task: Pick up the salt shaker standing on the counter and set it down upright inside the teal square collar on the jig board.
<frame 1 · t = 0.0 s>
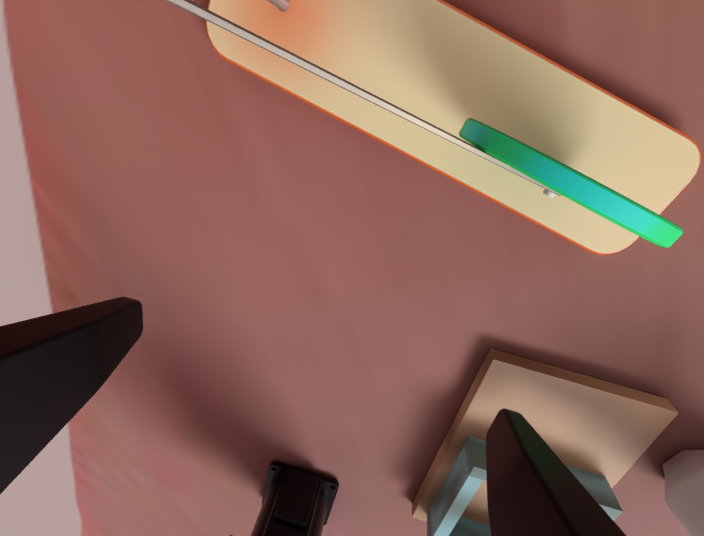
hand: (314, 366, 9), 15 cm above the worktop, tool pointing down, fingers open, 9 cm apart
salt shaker: (693, 465, 26), on the worktop
crank mechanism: (444, 96, 19), on the worktop
jig: (520, 458, 28), on the worktop
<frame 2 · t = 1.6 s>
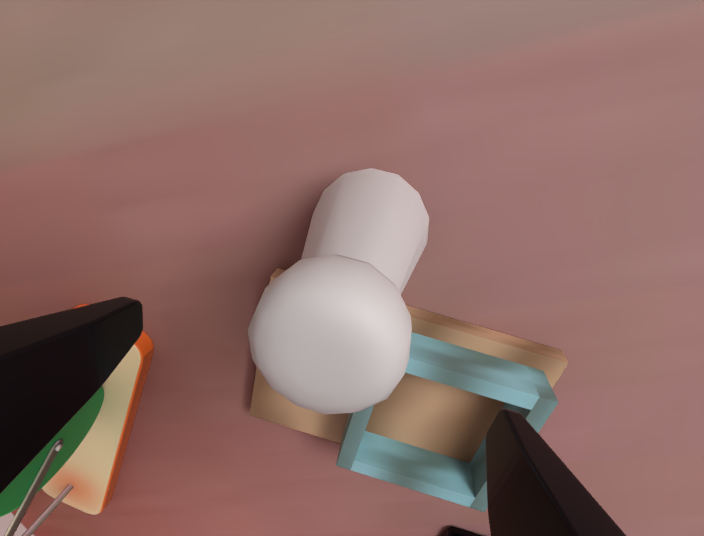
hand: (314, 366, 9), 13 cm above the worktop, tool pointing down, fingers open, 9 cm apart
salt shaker: (375, 213, 21), on the worktop
crank mechanism: (97, 417, 32), on the worktop
jig: (389, 379, 25), on the worktop
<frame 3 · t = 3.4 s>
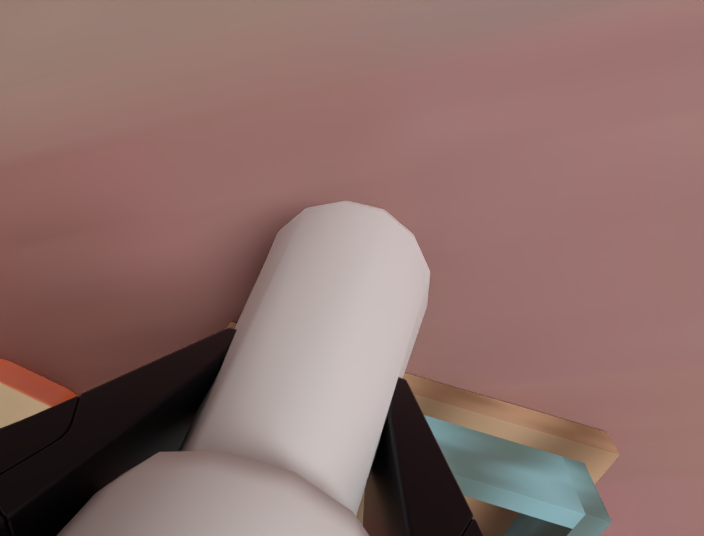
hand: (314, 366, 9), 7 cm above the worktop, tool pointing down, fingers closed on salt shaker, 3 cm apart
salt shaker: (356, 255, 15), on the worktop, touching gripper
crank mechanism: (32, 482, 27), on the worktop
jig: (380, 457, 20), on the worktop
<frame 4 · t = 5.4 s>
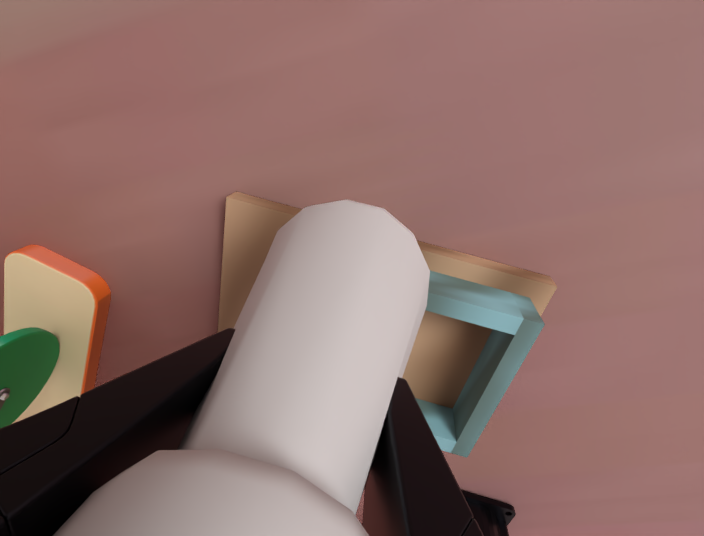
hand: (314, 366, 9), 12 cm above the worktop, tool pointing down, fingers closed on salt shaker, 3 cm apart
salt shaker: (356, 254, 15), point 5 cm above the worktop, touching gripper
crank mechanism: (58, 375, 30), on the worktop
jig: (364, 319, 23), on the worktop
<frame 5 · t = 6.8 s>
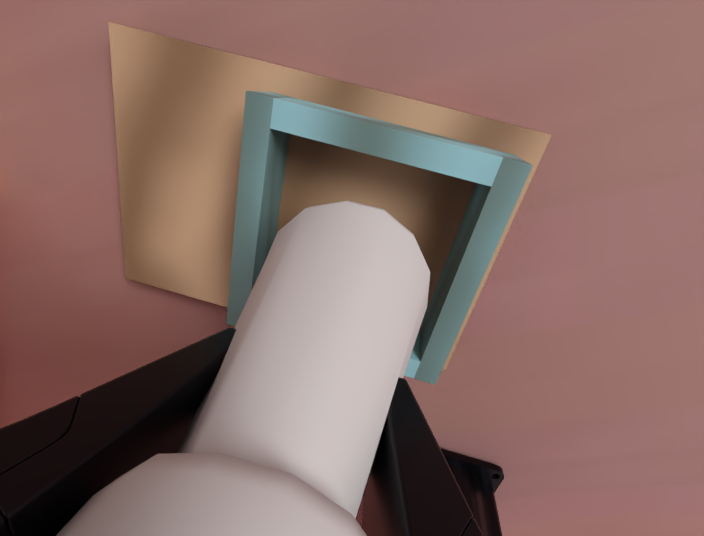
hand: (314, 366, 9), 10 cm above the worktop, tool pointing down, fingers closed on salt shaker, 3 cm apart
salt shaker: (356, 255, 15), point 3 cm above the worktop, touching gripper
jig: (306, 212, 18), on the worktop
when the fingers open (9 cm above the worktop, at t = 7.7 s): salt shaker drops 1 cm, resting on jig.
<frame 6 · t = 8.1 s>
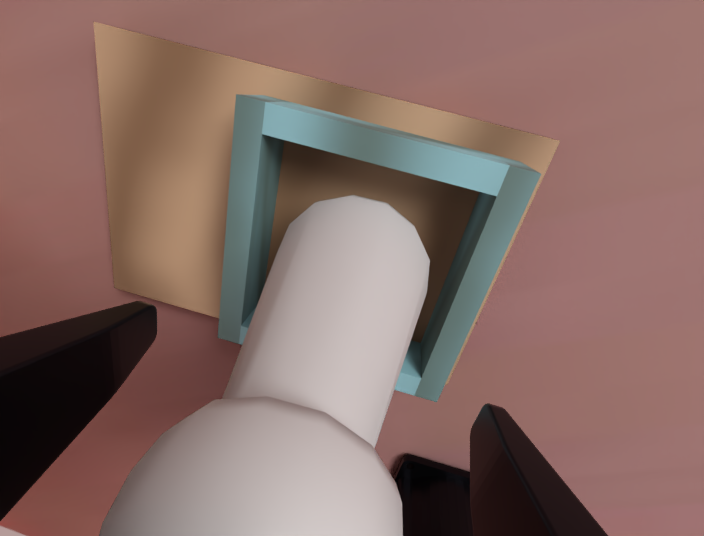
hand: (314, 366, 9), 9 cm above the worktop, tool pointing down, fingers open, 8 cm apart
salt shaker: (360, 246, 16), point 1 cm above the worktop, touching jig
jig: (302, 220, 17), on the worktop
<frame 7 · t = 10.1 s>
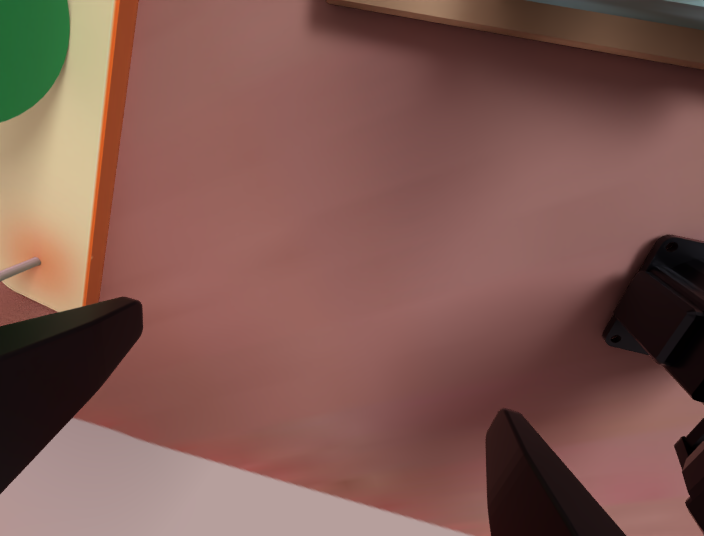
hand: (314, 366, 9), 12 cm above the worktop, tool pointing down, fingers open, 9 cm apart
crank mechanism: (69, 127, 21), on the worktop
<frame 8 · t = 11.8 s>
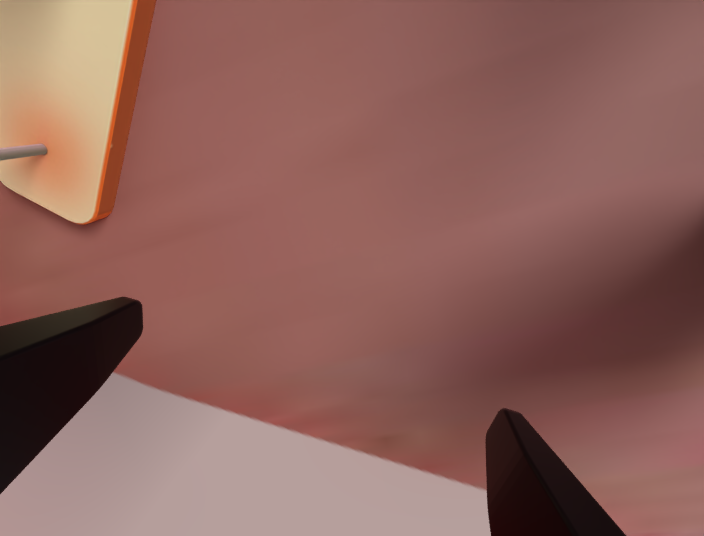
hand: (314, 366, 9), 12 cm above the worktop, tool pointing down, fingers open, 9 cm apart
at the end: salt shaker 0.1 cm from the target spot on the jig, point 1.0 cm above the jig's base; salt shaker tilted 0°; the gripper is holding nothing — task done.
